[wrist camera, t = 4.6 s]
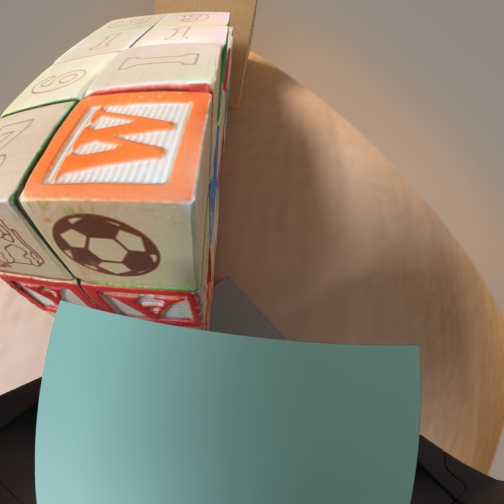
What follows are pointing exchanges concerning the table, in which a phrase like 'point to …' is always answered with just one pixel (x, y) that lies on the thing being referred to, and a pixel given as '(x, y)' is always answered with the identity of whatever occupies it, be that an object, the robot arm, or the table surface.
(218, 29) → the stack of blocks
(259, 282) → the table surface
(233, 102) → the sandwich container
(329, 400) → the teal block
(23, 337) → the table surface
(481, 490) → the robot arm
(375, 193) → the table surface
